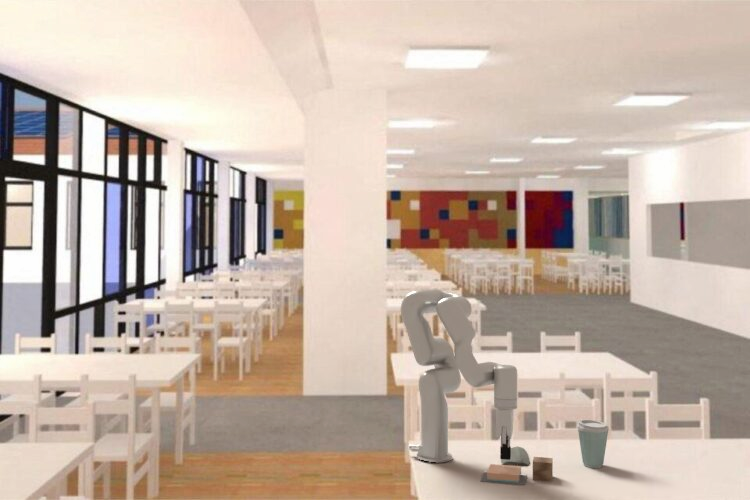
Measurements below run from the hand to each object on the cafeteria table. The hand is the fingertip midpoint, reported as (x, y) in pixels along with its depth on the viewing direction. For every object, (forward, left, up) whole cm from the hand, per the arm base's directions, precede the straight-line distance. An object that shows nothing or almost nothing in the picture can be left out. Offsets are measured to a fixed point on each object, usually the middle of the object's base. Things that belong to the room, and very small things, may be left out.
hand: (505, 458), depth 241 cm
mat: (0, -5, -5) cm, 7 cm away
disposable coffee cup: (+28, +18, -5) cm, 34 cm away
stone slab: (+1, +22, -6) cm, 23 cm away
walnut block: (+12, -1, -5) cm, 13 cm away
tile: (0, +1, -4) cm, 4 cm away
